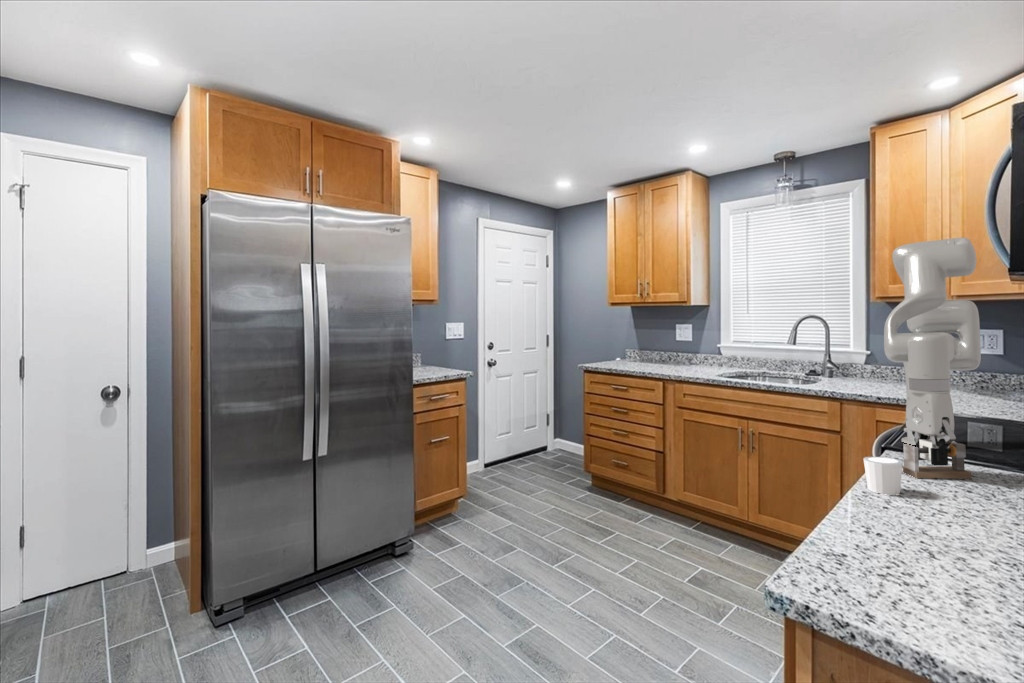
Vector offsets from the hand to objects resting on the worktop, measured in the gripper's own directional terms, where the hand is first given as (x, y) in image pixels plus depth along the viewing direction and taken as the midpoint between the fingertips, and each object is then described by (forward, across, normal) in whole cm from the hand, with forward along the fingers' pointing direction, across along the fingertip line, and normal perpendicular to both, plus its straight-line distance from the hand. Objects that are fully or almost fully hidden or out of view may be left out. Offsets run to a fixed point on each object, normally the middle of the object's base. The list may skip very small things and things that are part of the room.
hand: (931, 461), depth 118 cm
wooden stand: (+3, 0, +1) cm, 3 cm away
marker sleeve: (0, 0, 0) cm, 0 cm away
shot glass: (+4, +12, -17) cm, 21 cm away
